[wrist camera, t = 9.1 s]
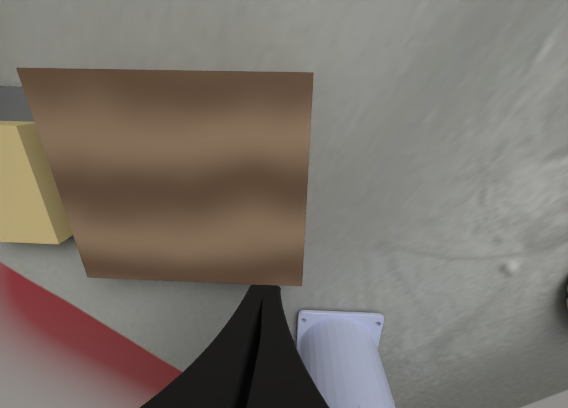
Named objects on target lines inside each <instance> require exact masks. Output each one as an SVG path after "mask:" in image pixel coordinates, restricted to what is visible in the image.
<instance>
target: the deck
mask: <svg viewBox="0 0 568 408" xmlns="http://www.w3.org/2000/svg"><path fill="white" fill-rule="evenodd" d="M16 69H17V71H18V74H19V77H20V80H21V83H22V86H23V89H24V92H25V95H26V98H27V101H28V104H29V107H30V110H31V113H32V115H33V118H34V121H35V124H36V127H37V130H38V133H39V136H40V139H41V142H42V145H43V148H44V151H45V154H46V157H47V160H48V162H49V165H50V168H51V171H52V174H53V177H54V180H55V183H56V186H57V189H58V192H59V195H60V198H61V201H62V204H63V206H64V209H65V212H66V215H67V218H68V221H69V224H70V227H71V230H72V233H73V236H74V239H75V242H76V245H77V248H78V250H79V253H80V256H81V259H82V262H83V265H84V268H85V271H86V274H87V277H90V278H115V279H139V280H164V281H189V282H213V283H238V284H263V285H287V286H302V276H303V257H304V239H305V220H306V202H307V183H308V165H309V146H310V128H311V109H312V91H313V73H307V72H245V71H182V70H120V69H58V68H16Z"/></svg>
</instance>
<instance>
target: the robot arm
mask: <svg viewBox="0 0 568 408" xmlns="http://www.w3.org/2000/svg"><path fill="white" fill-rule="evenodd" d="M376 322H378V323H376ZM383 322H384V317H383V315H382V314H380V313H365V312H342V311H319V310H301V311H299V313H298V328H297V348H296V346H295V343H294V341H293V338H292V336H291V333H290V330H289V327H288V325H287V321H286V318H285V314H284V311H283V307H282V302H281V294H280V287H279V286H272V285H251V286H250V287H249V290H248V292H247V293H246V295H245V297H244V299H243V300H242V302H241V304H240V305H239V307H238V308H237V310H236V311H235V313H234V314H233V316H232V317H231V319H230V320H229V321H228V323H227V324H226V325H225V327H224V328H223V329H222V331H221V332H220V333H219V334H218V336H217V337H216V338H215V339H214V340H213V342H212V343H211V344H210V345H209V346H208V347H207V348H206V349H205V351H204V352H203V353H202V354H201V355H200V356H199V357H198V358H197V359H196V360H195V361H194V362H193V363H192V364H191V365H190V366H189V367H188V368H187V369H186V370H185V371H184V372H183V373H181V374H180V375H179V376H178V377H177V378H176V379H175V380H174V381H172V382H171V383H170V384H169V385H168V386H167V387H165V388H164V389H163V390H162V391H161V392H160V393H158V394H157V395H156V396H154V397H153V398H152V399H151V400H149V401H148V402H147V403H145V404H144V405H143V406H141V407H140V408H396V407H395V404H394V401H393V398H392V395H391V391H390V388H389V385H388V382H387V379H386V375H385V372H384V369H383V366H382V362H381V359H380V356H379V353H378V350H377V349H378V344H379V340H380V335H381V331H382V326H383Z"/></svg>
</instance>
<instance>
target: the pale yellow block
mask: <svg viewBox="0 0 568 408" xmlns="http://www.w3.org/2000/svg"><path fill="white" fill-rule="evenodd" d="M72 235H73V233H72V230H71V227H70V224H69V221H68V218H67V215H66V212H65V209H64V206H63V204H62V201H61V198H60V195H59V192H58V189H57V186H56V183H55V180H54V177H53V174H52V171H51V168H50V165H49V162H48V160H47V157H46V154H45V151H44V148H43V145H42V142H41V139H40V136H39V133H38V130H37V127H36V124H35V122H23V121H0V242H17V243H40V244H60V243H62V242H63V241H65V240H66V239H68V238H69V237H71V236H72Z"/></svg>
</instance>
